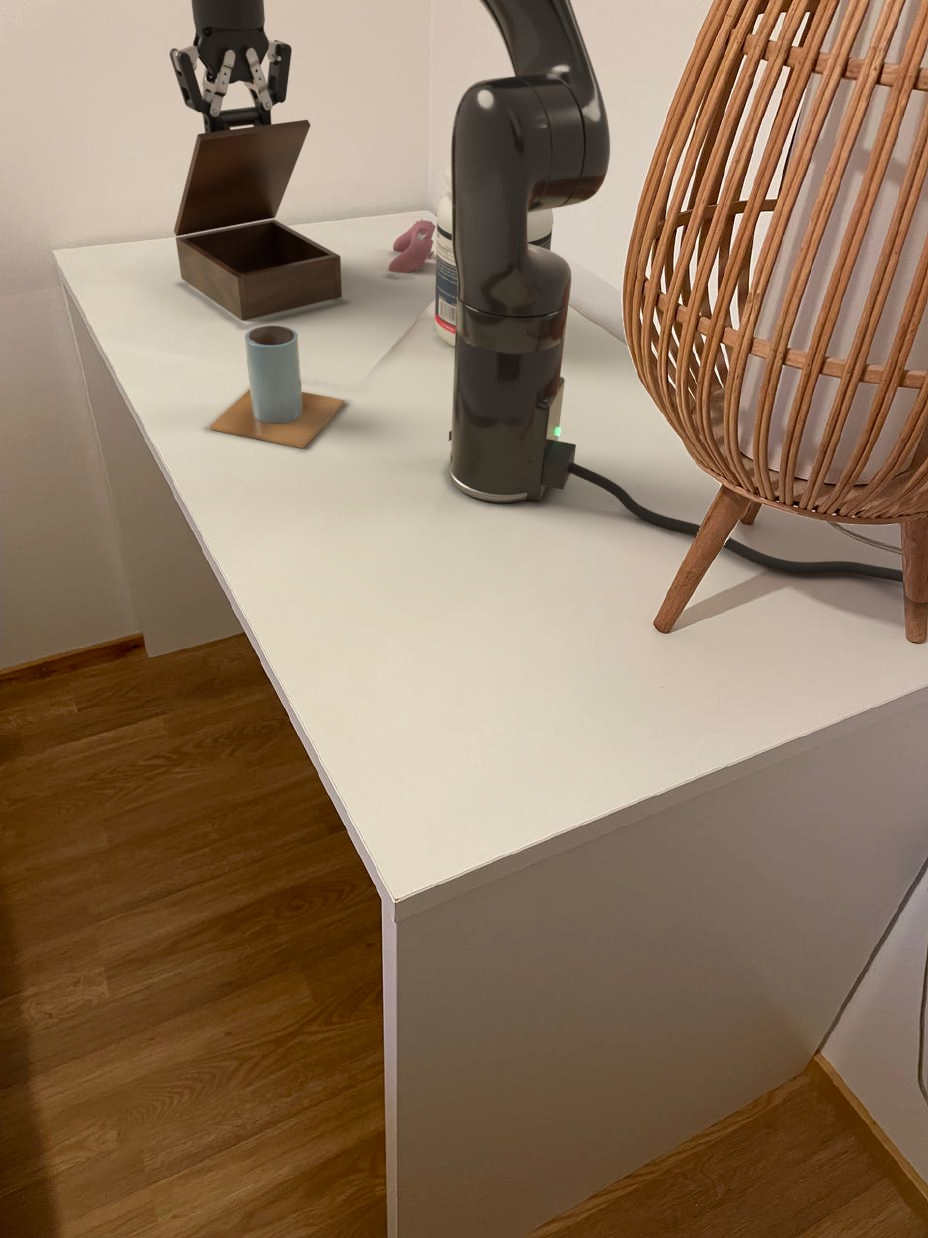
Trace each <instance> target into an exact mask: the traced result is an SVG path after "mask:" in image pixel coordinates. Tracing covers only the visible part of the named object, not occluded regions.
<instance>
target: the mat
mask: <svg viewBox="0 0 928 1238" xmlns="http://www.w3.org/2000/svg"><path fill="white" fill-rule="evenodd" d="M302 404H303V413H302V415H301V416H300V417H299V418H297V419H296V420H293V421H291V422H287V423H278V424H275V423H266V422H263V421H260V420H258V419H256V418H255V417H254V415H253V411H252V402H251V392H250V389H248V390H247V391H246V392H245V393H244V394H243V395H242V396H241V397H239V398H238V399H237V400H236V401H235V402H234V403H233V404H232V405H230V407H229V408H227V410H225V411H224V412H223V413H222V414H221V415H220V416H219V417H218V418H216V419H215V420H214V421H213V422H212V423H211V424H210V425H209V429H210V430H212V431H216V432H221V433H227V434H231V435H236V436H241V437H245V438H250V439H256V440H260V441H266V442H269V443H276V444H280V445H285V446H290V447H295V448H300V449H305V447H306V446H307V445H309V443H310V442H311V441H312V440H313V439H314V438H315V436H317V434H318V433H319V432H320V431H321V430H322V429H323V428H324V427H325V425H326V424H327V423H328V422H330V420H331V419H332V418H333V417H334V415H336V413H337V412H338V411H339V410H340V409H341V408H342V407H343V406H344V404H345V400H344V399H341V398H336V397H330V396H325V395H319V394H314V393H309V392H305V391H302Z"/></svg>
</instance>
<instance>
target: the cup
mask: <svg viewBox="0 0 928 1238" xmlns="http://www.w3.org/2000/svg"><path fill="white" fill-rule="evenodd" d="M244 345H245V354H246V363H247V371H248V372H247V374H248V381H249V390H250V392H251V402H252V411H253V415H254V417H255V418H256V419H258V420H260V421H263V422H266V423H275V424H278V423H287V422H291V421H293V420H296V419H297V418H299V417H300V416H301V415H302V413H303V404H302V392H303V390H302V376H301V363H300V362H301V361H300V347H299V346H300V345H299V334H298V332H297V331H296V330H294V329H292V328H290V327H287V326H283V325H276V324H275V325H274V324H273V325H272V324H271V325H261V326H257V327H254V328H251V329H250V330H248V331H247V332H246V333H245V334H244Z"/></svg>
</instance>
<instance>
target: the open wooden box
mask: <svg viewBox="0 0 928 1238" xmlns="http://www.w3.org/2000/svg"><path fill="white" fill-rule="evenodd" d="M175 242H176V250H177V251H176V252H177V256H178V264H179V272H180V277H181V280H183V281H184V282H186V283H187V284H189V285H190V286H192V287H193V288H194V289H196V290H197V291H199V292H201V293H202V294H203V295H205V296H206V297H207V298H209V299H210V300H212V301H213V302H214V303H216V304H217V305H219V306H220V307H222V308H223V309H224V310H226V311H227V312H229V313H230V314H232V315H233V316H234V317H236V318H238V319H239V320H240V321H242V322H243V321H248V320H252V319H256V318H260V317H264V316H268V315H273V314H276V313H281V312H285V311H289V310H292V309H293V310H294V309H297V308H301V307H305V306H306V307H307V306H310V305H314V304H318V303H322V302H326V301H332V300H334V299H338V298H342V297H343V294H342V293H343V291H342V290H343V289H342V264H341V255H339V254H338V253H336V252H334V251H332V250H331V249H329V248H327V247H325V246H324V245H321V244H320V243H318V242H316V241H315V240H312V239H310V238H309V237H307V236H305V235H303V234H301V233H300V232H298V231H296V230H295V229H293V228H291V227H289V226H287V225H286V224H283V223H282V222H280V221H278V220H277V219H275V218H272V219H267V220H261V221H256V222H250V223H245V224H240V225H234V226H229V227H224V228H218V229H213V230H208V231H202V232H197V233H192V234H186V235H182V236H176V237H175Z"/></svg>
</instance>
